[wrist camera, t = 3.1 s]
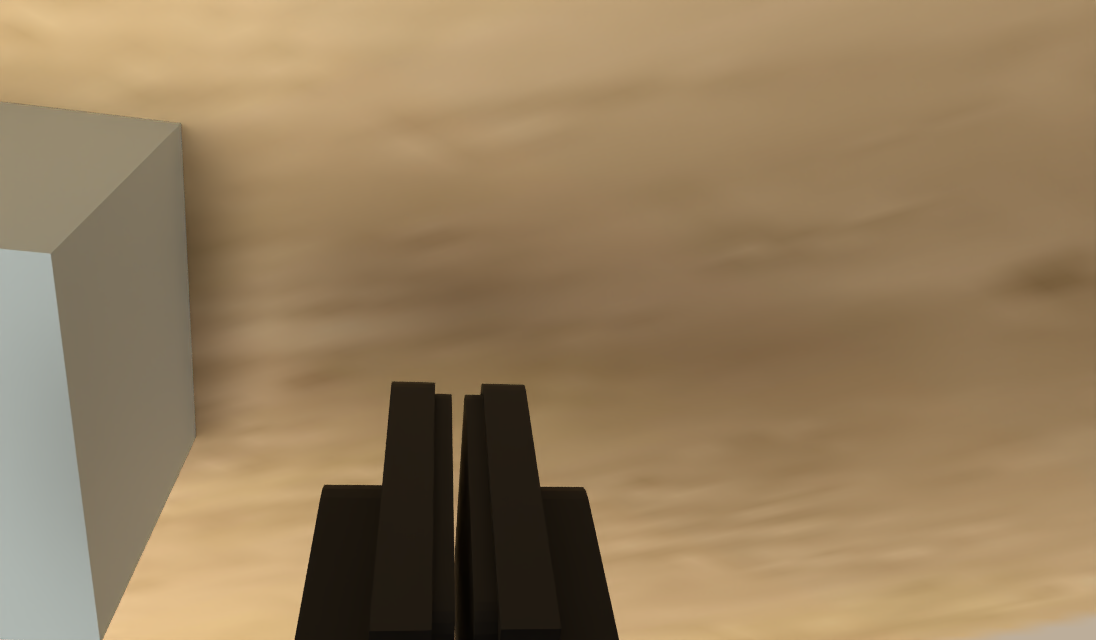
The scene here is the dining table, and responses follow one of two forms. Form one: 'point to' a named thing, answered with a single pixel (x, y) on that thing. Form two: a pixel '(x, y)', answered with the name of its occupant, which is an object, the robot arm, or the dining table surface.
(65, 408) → the block
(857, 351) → the dining table surface
